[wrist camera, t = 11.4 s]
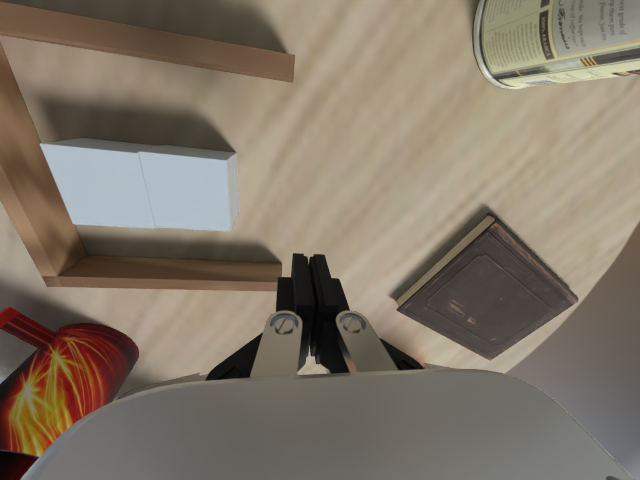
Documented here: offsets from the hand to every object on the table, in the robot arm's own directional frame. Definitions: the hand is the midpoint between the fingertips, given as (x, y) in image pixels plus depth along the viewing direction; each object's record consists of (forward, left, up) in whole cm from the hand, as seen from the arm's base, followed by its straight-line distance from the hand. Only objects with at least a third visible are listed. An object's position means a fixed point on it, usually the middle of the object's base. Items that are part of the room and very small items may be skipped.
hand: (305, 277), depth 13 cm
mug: (-21, +26, -13) cm, 36 cm away
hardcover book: (-12, -28, -14) cm, 33 cm away
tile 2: (+1, +15, -13) cm, 20 cm away
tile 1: (+1, +9, -13) cm, 16 cm away
